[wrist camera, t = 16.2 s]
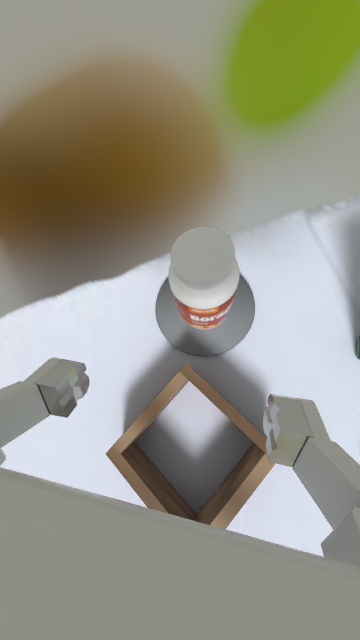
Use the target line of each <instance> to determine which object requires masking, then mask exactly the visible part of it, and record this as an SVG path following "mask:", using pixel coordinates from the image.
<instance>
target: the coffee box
mask: <svg viewBox="0 0 360 640" xmlns="http://www.w3.org/2000/svg"><path fill="white" fill-rule="evenodd" d="M356 355H357V358H358V359H360V336H358V340H357V354H356Z"/></svg>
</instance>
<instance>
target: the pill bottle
mask: <svg viewBox="0 0 360 640" xmlns="http://www.w3.org/2000/svg"><path fill="white" fill-rule="evenodd" d="M234 256H235V251H234V246H233V243H232V241H231V240H230V238H229V237H228V236H227V235H226V234H225V233H224V232H222V231H220V230H218V229H216V228H212V227H206V226H205V227H196V228H192V229H190V230H188V231H186V232H184V233H183V234H182V235H180V236H179V237H178V238H177V240H176V241H175V242H174V244H173V247H172V249H171V265H170V268H169V274H168V279H169V284H170V289H171V291H172V294H173V296H174V299H175V301H176V304H177V307H178V309H179V312H180V314H181V316H182V318H183V319H184V320H185V321H186V322H187V323H188V324H189V325H191V326H193V327H195V328H198V329H211V328H214V327H217V326H218V325H220V324H221V323H222V322H223V321H224V320H225V319H226V318H227V316H228V314H229V312H230V309H231V306H232V302H233V299H234V296H235V292H236V289H237V286H238V282H239V275H240V274H239V266H238V263H237V261H236V259H235V257H234Z"/></svg>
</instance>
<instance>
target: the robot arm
mask: <svg viewBox="0 0 360 640" xmlns="http://www.w3.org/2000/svg"><path fill="white" fill-rule="evenodd" d="M85 371H86V366H85V364H84V363H80V362H75V361H70V360H65V359H59V358H51V359H49V360H48V361H47V362H45V363H44V364H43V365H42V366H41V367H40V368H38V369H37V370H36V371H35V372H34V373H33V374H32V375H30V376H29V377H28V378H27V379H26V380H25V381H23V382H21V381H20V382H17V383H15V384H12V385H10V386H7V387H5V388H3V389H0V465H1V464H2V463H3V462H4V461H5V459H6V455H5V454H4V452H3V451H2V449H1V447H3V446H4V445H6V444H7V443H9V442H11V441H12V440H14V439H15V438H17V437H18V436H20V435H21V434H23V433H24V432H26V431H27V430H29V429H30V428H32V427H33V426H35V425H36V424H38V423H39V422H41V421H42V420H44V419H45V418H47V417H48V416H50V415H55V416H61V417H66V418H67V417H68V416H69V415H70V414H71V412H72V411H73V410H74V408H75V407H76V406H77V400H79V399H80V398H82V397H83V396H84V395H85V394H86V392H87V390H88V387H89V377H88V376H87V375H86V374H85V373H84V372H85ZM49 414H50V415H49ZM263 429H264V433H265V434H266V436H267V437H268V438H267V441H266V450H267V457H268V461H269V462H273V463H277V464H281V465H285V466H289V467H293V468H292V469H293V470H294V472H295V473H296V475H297V476H298V477H299V479H300V480H301V482H302V483H303V485H304V486H305V488H306V489H307V491H308V492H309V494H310V495H311V497H312V498H313V500H314V501H315V503H316V504H317V506H318V507H319V509H320V510H321V512H322V513H323V515H324V516H325V518H326V519H327V521H328V522H329V524H330V525H331V527H332V528H333V531H332V532H331V533H330V534H329V535H328V536H327V537H326V539H325V540H324V541H323V542H322V543H321V547H322V551H323V555H324V557H322V556H319V555H315V554H311V553H308V552H304V551H301V550H297V549H293V548H290V547H286V546H283V545H279V544H275V543H272V542H268V541H265V540H261V539H257V538H254V537H250V536H247V535H243V534H239V533H236V532H232V531H229V530H225V529H221V528H218V527H214V526H211V525H207V524H203V523H200V522H196V521H193V520H189V519H185V518H182V517H178V516H175V515H171V514H167V513H164V512H160V511H157V510H153V509H149V508H146V507H142V506H139V505H135V504H131V503H128V502H124V501H121V500H117V499H113V498H110V497H106V496H103V495H99V494H95V493H92V492H88V491H85V490H81V489H77V488H74V487H70V486H67V485H63V484H59V483H56V482H52V481H49V480H45V479H41V478H38V477H34V476H31V475H27V474H23V473H20V472H16V471H13V470H9V469H5V468H2V467H0V640H360V465H359V464H358V463H357V462H356V461H355V460H354V459H353V458H352V457H351V456H350V455H349V454H347V453H346V452H345V451H344V450H343V449H342V448H341V447H340V446H339V445H338V444H337V443H336V442H332V441H331V440H330V438H329V435H328V433H327V431H326V428H325V426H324V424H323V421H322V419H321V417H320V414H319V412H318V409H317V407H316V405H315V403H314V402H313V401H312V400H306V399H300V398H298V399H297V398H293V397H287V396H281V395H274V394H270V396H269V398H268V407H266V408H265V411H264V415H263Z"/></svg>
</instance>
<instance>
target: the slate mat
mask: <svg viewBox="0 0 360 640" xmlns="http://www.w3.org/2000/svg"><path fill="white" fill-rule="evenodd" d="M155 310H156V319H157V323H158V325H159V328H160V330H161V332H162V333H163V335H164V336H165V337H166V339H167V340H168V341H169V342H170V343H171V344H172V345H174V346H175V347H176V348H178V349H180V350H181V351H183V352H186V353H188V354H192V355H197V356H213V355H217V354H221V353H224V352H226V351H228V350H230V349H232V348H233V347H235V346H236V345H237V344H239V343H240V342H241V341H242V340H243V338H244V337H245V336H246V334H247V333H248V331H249V330H250V328H251V325H252V323H253V320H254V315H255V301H254V297H253V294H252V291H251V289H250V287H249V285H248V284H247V282H246V281H245V280H244V279H243V278H242V277H241V275H239V282H238V286H237V289H236V292H235V296H234V299H233V302H232V306H231V309H230V312H229V314H228V316H227V318H226V319H225V320H224V321H223V322H222V323H221V324H220V325H218V326H217V327H214V328H211V329H198V328H195V327H193V326H191V325H189V324H188V323H187V322H186V321H185V320H184V319H183V318H182V316H181V314H180V312H179V309H178V307H177V304H176V301H175V299H174V296H173V294H172V291H171V289H170V284H169V279H167V280H166V281H165V283H164V284H163V286H162V287H161V289H160V291H159V294H158V297H157V300H156V309H155Z"/></svg>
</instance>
